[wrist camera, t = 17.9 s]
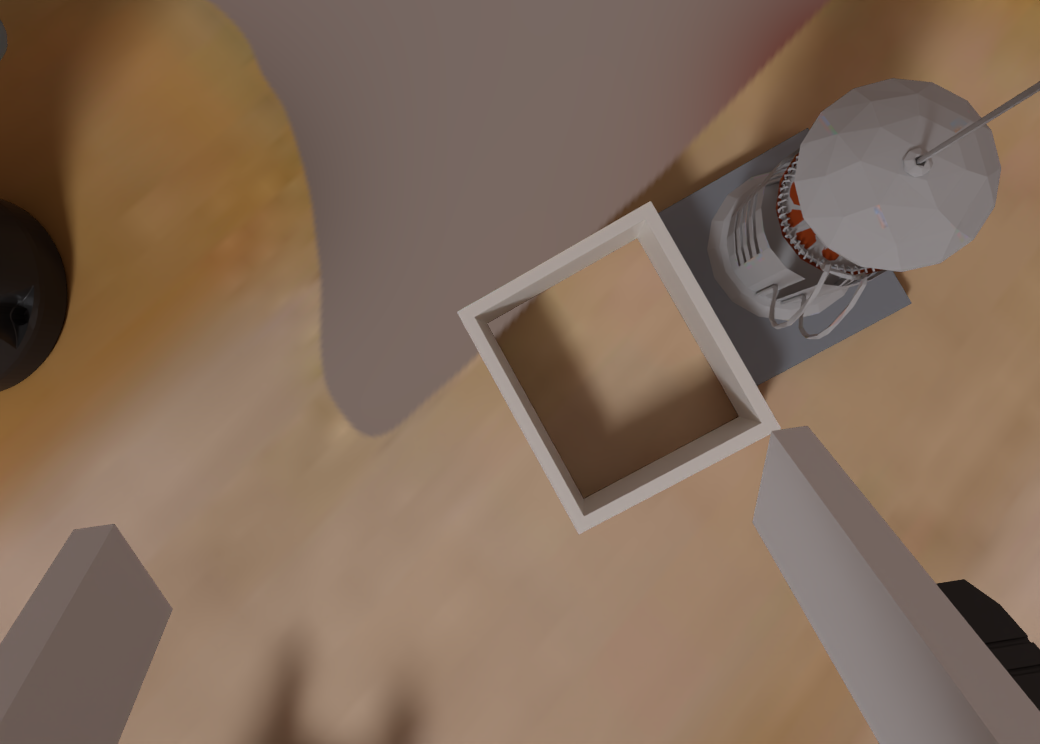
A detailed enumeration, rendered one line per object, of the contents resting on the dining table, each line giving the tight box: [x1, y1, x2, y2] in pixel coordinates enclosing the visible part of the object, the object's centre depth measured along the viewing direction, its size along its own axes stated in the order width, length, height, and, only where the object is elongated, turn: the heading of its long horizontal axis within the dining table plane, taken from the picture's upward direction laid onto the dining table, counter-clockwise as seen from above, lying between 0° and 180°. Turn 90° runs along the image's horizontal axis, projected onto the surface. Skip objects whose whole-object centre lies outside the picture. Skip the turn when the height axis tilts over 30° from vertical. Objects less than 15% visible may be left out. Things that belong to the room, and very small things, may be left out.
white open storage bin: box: [457, 201, 781, 534], centre depth 38 cm, size 15×13×5 cm
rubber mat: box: [658, 128, 911, 386], centre depth 39 cm, size 13×11×1 cm
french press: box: [707, 78, 1040, 339], centre depth 26 cm, size 10×12×25 cm
